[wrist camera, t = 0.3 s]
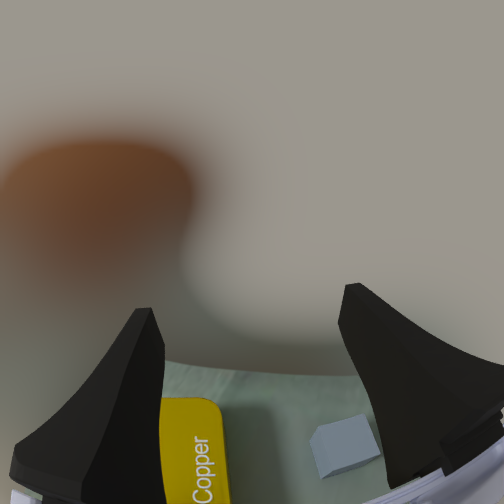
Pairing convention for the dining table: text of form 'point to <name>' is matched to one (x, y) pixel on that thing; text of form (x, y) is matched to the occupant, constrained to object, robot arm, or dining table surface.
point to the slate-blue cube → (343, 446)
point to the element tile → (193, 452)
